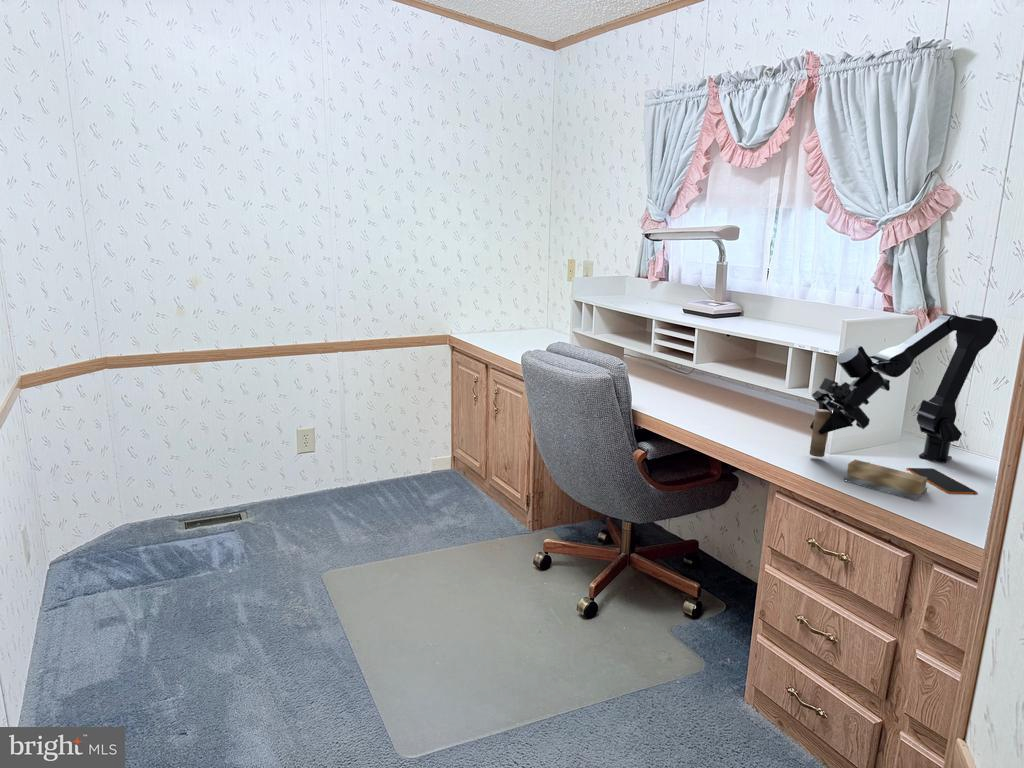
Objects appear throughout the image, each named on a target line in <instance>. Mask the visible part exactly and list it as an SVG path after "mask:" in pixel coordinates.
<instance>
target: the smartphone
mask: <svg viewBox="0 0 1024 768" xmlns="http://www.w3.org/2000/svg"><path fill="white" fill-rule="evenodd" d="M905 469H906V471H908V472H909V471H910V472H909V473H911V474H915V475H919V476H923V477H927V483H928V484H930V485H932V486H933V487H935V488H937V489H938V490H941V491H943V493H945V494H948V495H978V494H979V493H978V491H976V490H974V489H973V488H971V487H968V486H967V485H966V484H963V483H961V482H959V481H957V480H956V479H954V478H952V477H951V476H948V475H946V474H945V473H943V472H941V471H939V470H937V469H936V468H929V467H926V468H925V467H923V468H922V467H906V468H905Z"/></svg>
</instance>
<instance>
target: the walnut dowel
mask: <svg viewBox="0 0 1024 768" xmlns="http://www.w3.org/2000/svg"><path fill="white" fill-rule="evenodd" d="M829 418H830V411H828V410H824V409H819V408H816V409H815V410H814V418H813V420H814V424H813V430H812V432H811V439H810V440H811V441H810V445H809V448H810V449H809V455H810V456H813V457H816V458H823V457H825V454H826V453H825V452H826V446H827V439H828V433H829V432H827V433H824V434H820V433H819V432H818V431H819V429H820V428H821V427H822V426H823V425H824V424H825V423H826V422H827V421H828V420H829Z"/></svg>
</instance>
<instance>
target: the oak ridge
mask: <svg viewBox="0 0 1024 768" xmlns="http://www.w3.org/2000/svg"><path fill="white" fill-rule="evenodd" d="M843 480H847V481H850V482H853V483H852V484H854V483H856V484H855V485H858V484H860V485H859V486H861V485H863V486H862V487H865V486H867V487H866V488H869V487H870V488H869V489H872V488H874V489H873V490H876V489H878V490H877V491H879V490H882V491H881V492H883V491H885V492H884V493H887V492H889V493H888V494H890V493H893V494H892V495H894V494H896V495H895V496H898V495H899V497H901V496H903V497H902V498H905V497H906V498H905V499H909V500H912V501H913V500H914V501H918V500H919V499H920V498H921V497H922V496H924V495H925V494H926V493H927V492H928V487H927V483H928V482H927V477H923V476H919V475H915V474H913V473H911V472H906V471H902V470H898V469H894V468H890V467H887V466H882V465H879V464H874V463H870V462H867V461H863V460H859V459H854V460H852V461H850V462H848V465H847V470H846V475H844V476H843ZM843 480H842V481H843ZM847 481H846V482H847ZM850 482H849V483H850Z"/></svg>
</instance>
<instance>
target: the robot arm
mask: <svg viewBox="0 0 1024 768" xmlns="http://www.w3.org/2000/svg"><path fill="white" fill-rule="evenodd" d="M998 328H999V325H997V321H996V320H995V319H994V318H992V317H988V316H982V315H975V314H967V315H964V316H958V315H955V314H949V313H942V314H939V315H938V316H937V317H936V319H934V320H933V321H932V322H930V323H928V324H927V325H926V326H924V327H923V328H922V329H920V330H919V331H917V332H916V333H915V334H913V335H912V336H911V337H909V338H908V339H906V340H905V341H903V342H902V343H900V344H898V345H894V346H890V347H887V348H885V349H883V350H881V351H879V352H877V353H876V354H875V355H871V356H869V355H868V354H867V351H866V350H865V348H863V346H862V345H859V344H856V345H855V346H854V347H851V348H847V349H845V350H846V351H845V350H844V351H845V352H843V351H842V352H843V353H841V352H840V353H839V354H838V355H837V356H836V362H837V364H838V365H839V366H840V367H841V368H842V370H843V371H844V372H845V374H846V375H847V376H848V377H849V378H850V379H852V378H853V381H852V382H850V383H848V382H846V381H843V380H840V381H839V382H837V381H834V380H833V379H830V378H828V377H824V379H823V380H822V383H821V385H820V386H819V388H818V389H820V390H816V391H814V393H812V394H811V397H812V398H813V399H814V401H815V402H816V403H817V404H818V409H824V410H828V411H830V418H829V420H828V421H827V422H826V423H825V424H824V425H823V426H822V427H821V428H820V429H819V431H818V432H819V433H820V434H824V433H827V432H828V433H830V432H833V431H836V430H841V429H844V428H845V429H846V428H848V427H854V424H853V423H854V422H856V424H855V425H856V427H858V428H860V429H862V430H865V429H866V428H867V427H868V426H870V421H871V419H870V418H869V416H868V415H867V414H866V413H865V412H864V410H862V408H861V406H862V405H865V406H866V405H868V404H869V403H870V401H869V399H870V398H871V397H872V396H873V395H874V394H875V393H876V392H877V391H879V389H882V390H885V391H887V392H888V391H890V389H891V388H890V387H891V386H890V384H891V383H890V382H891V381H890V380H889V379H887V378H884V377H883V375H885V376H888V377H892V378H899V377H900V376H902V375H903V374H905V372H906V371H907V370H908V369H909V368H911V366H912V365H913V362H914V360H915V359H917V357H919V356H920V355H921V354H922V353H924V352H925V351H927V350H928V349H930V348H931V347H933V346H934V345H935V344H937V343H938V342H940V341H941V340H942V339H944V338H945V337H946V336H948V335H950V334H952V332H954V331H956V332H955V339H956V348H955V350H954V352H953V354H952V356H951V359H950V361H949V363H948V364H947V365H948V366H947V367H946V370H945V372H944V374H943V376H942V379H941V381H940V383H939V385H938V387H937V390H936V391H935V394H934V396H933V397H932V398H930V399H929V400H926V399H923V400H922V401H921V402H920V406H919V408H918V410H917V411H916V412H915V413H916V414H917V416H916V421H917V423H918V425H919V430H920V432H921V433H924V434H926V437H925V443H924V448H923V452H921V453H920V454H919V455H918V457H919V458H921V459H926V460H929V461H930V460H931V461H935V462H939V463H943V464H947V463H948V462H949V461H951V459H952V458H953V456H950V455H949V453H950V447H951V444H952V443H954V442H959V440H960V438H961V437H962V432H961V431H960V429H959V428H958V427H957V425H956V424H955V421H956V417H957V409H956V402H957V399H958V397H959V395H960V393H961V392H962V388H963V386H964V385H965V383H966V380H967V377H968V376H969V373H970V371H971V370H972V369H971V368H972V367H973V365H974V362H975V360H976V358H977V356H978V354H979V352H981V351H982V350H983V349H984V348H986V347H987V346H988V345H989V344H990V343H991V342H992V341H993V339H994V337H995V336H996V334H997V332H998V330H999V329H998ZM823 390H824V391H823ZM832 410H833V413H832ZM813 424H814V419H813V421H812V422H811V424H810V426H809V429H811V430H812V431H813ZM828 433H827V434H828Z"/></svg>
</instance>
